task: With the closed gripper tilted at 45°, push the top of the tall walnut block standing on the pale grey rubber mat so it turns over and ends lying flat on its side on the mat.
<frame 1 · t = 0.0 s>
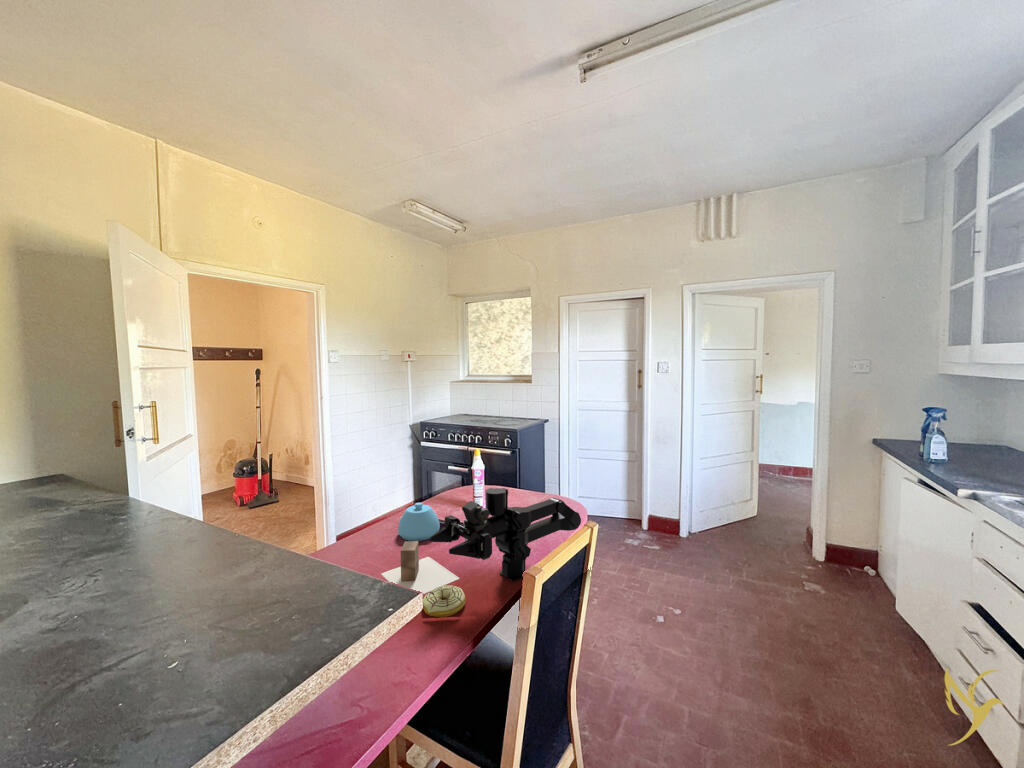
hand: (439, 545, 102), 17 cm above the table, tool horizontal, fingers open, 9 cm apart
decorated donut: (444, 608, 103), on the table
walnut block: (410, 575, 118), point 1 cm above the table, touching rubber mat
sugar bowl: (419, 534, 148), on the table
rubber mat: (419, 578, 117), on the table
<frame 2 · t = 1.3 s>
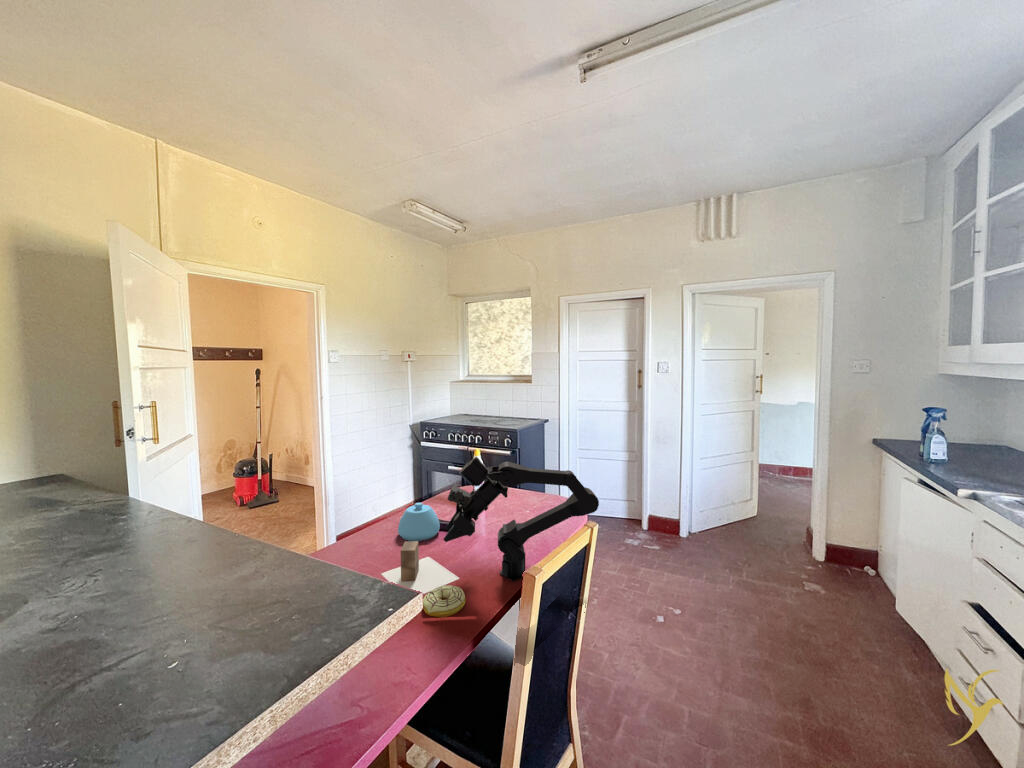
hand: (445, 534, 117), 13 cm above the table, tool tilted 45°, fingers open, 8 cm apart
nothing on the table moved.
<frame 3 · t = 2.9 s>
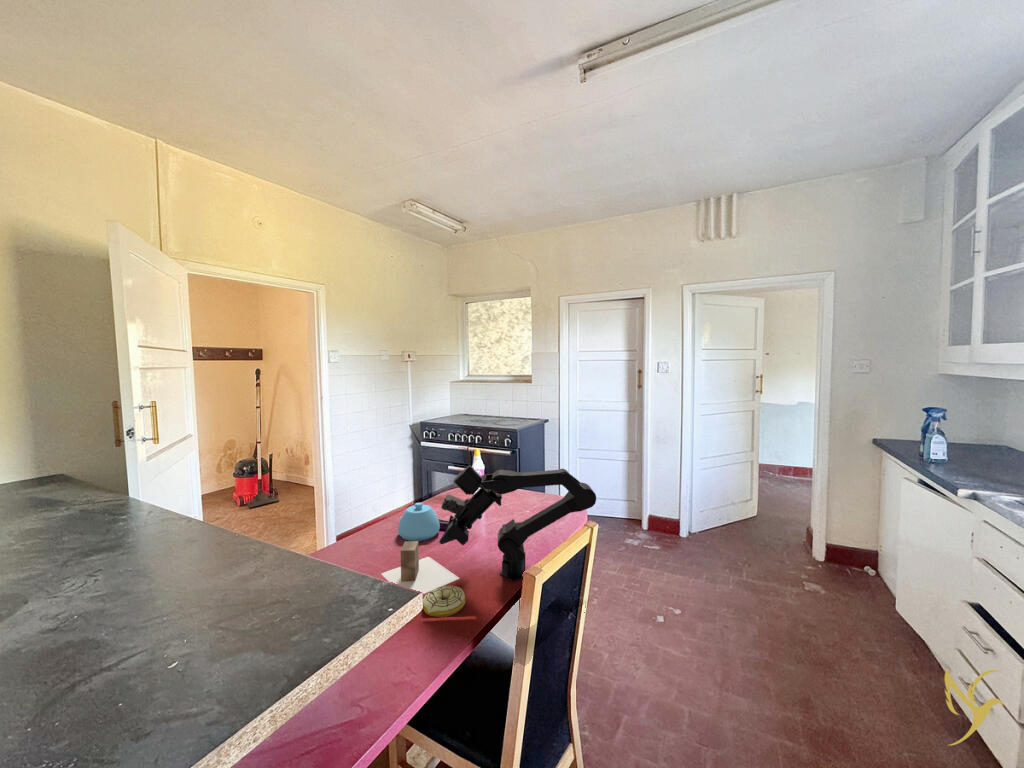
hand: (440, 542, 118), 10 cm above the table, tool tilted 45°, fingers closed
nothing on the table moved.
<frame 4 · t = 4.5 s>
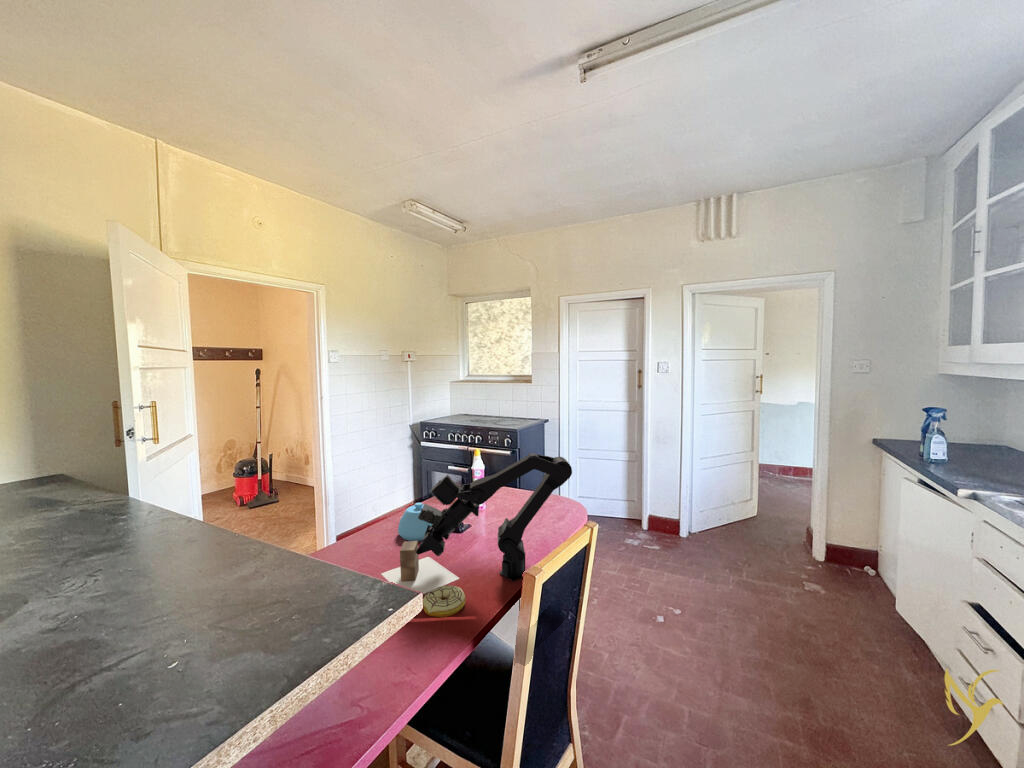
hand: (417, 552, 117), 7 cm above the table, tool tilted 45°, fingers closed, pressing on walnut block
walnut block: (410, 575, 118), point 1 cm above the table, touching gripper, rubber mat
everything else where it was.
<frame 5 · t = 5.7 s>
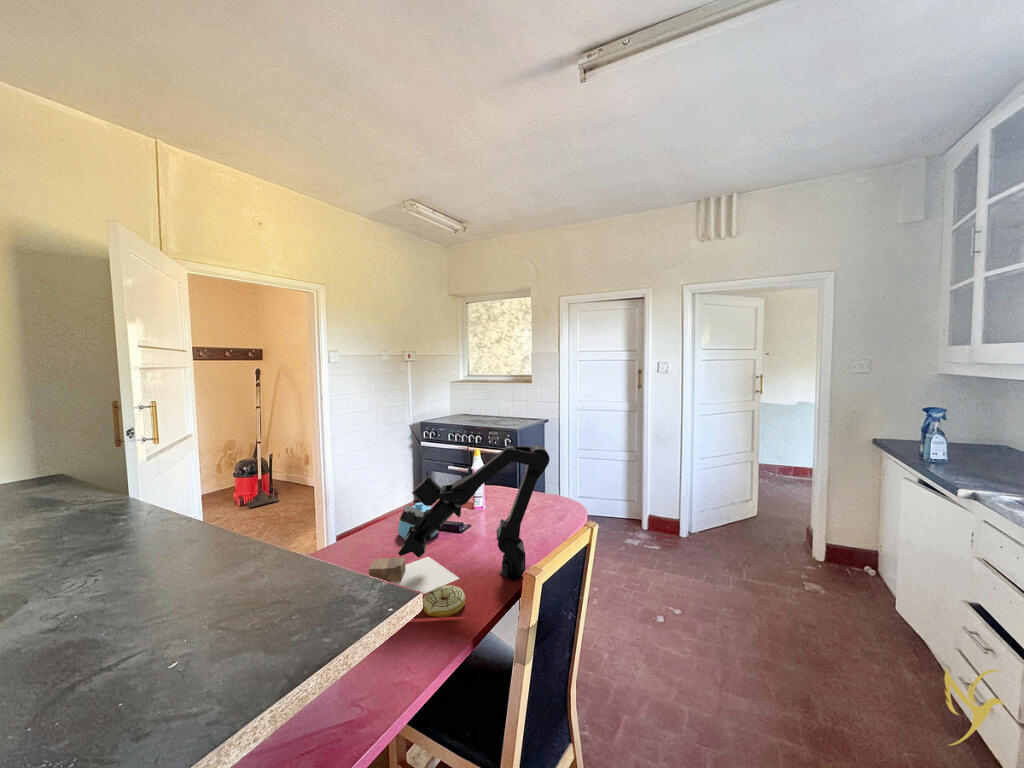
hand: (399, 554, 117), 7 cm above the table, tool tilted 45°, fingers closed
walnut block: (403, 569, 117), point 3 cm above the table, tilted 90°, touching rubber mat
everything else where it was.
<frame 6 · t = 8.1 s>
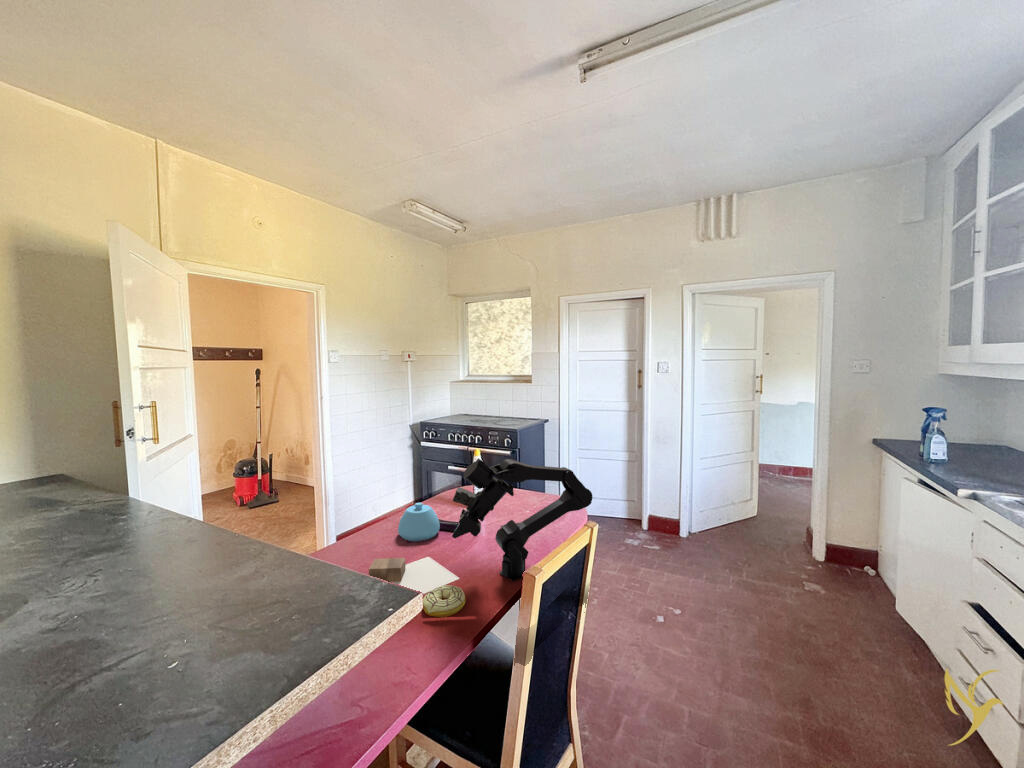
hand: (453, 537, 116), 13 cm above the table, tool tilted 45°, fingers closed
nothing on the table moved.
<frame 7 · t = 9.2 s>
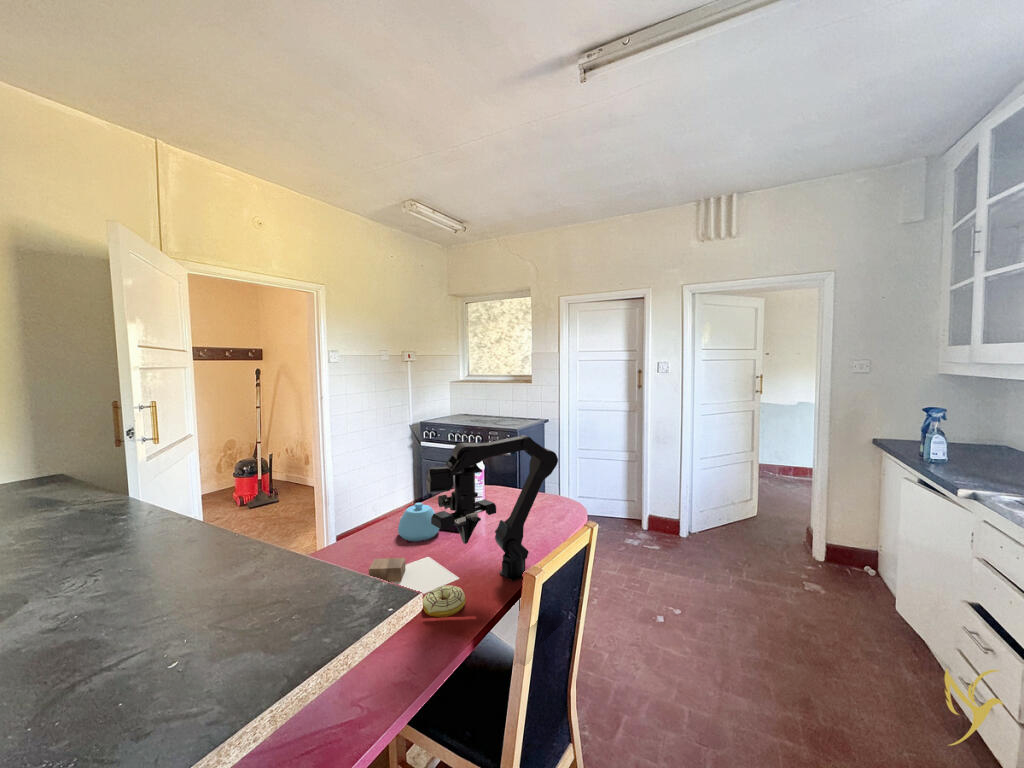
hand: (465, 543, 113), 12 cm above the table, tool pointing down, fingers closed
nothing on the table moved.
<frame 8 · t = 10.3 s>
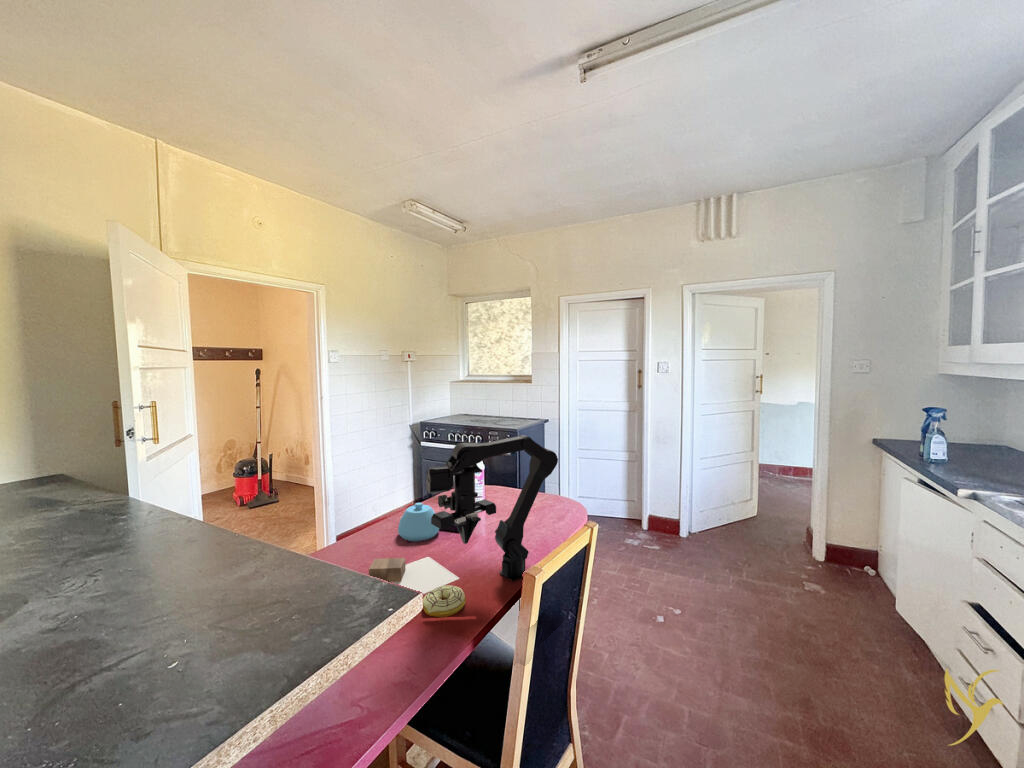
hand: (465, 543, 113), 12 cm above the table, tool pointing down, fingers closed
nothing on the table moved.
at the end: walnut block tilted 90°; walnut block inside the target area (1.6 cm from its centre), point 2.6 cm above the table; walnut block touching rubber mat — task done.
